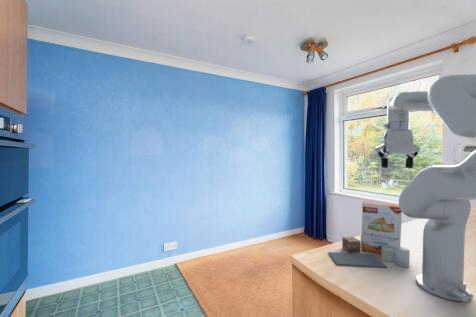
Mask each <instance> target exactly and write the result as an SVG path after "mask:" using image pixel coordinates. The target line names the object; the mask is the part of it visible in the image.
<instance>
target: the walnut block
mask: <svg viewBox="0 0 476 317" xmlns="http://www.w3.org/2000/svg"><path fill="white" fill-rule="evenodd" d="M341 238H342V240H341V241H342V242H341V243H342V249H343V250H345V251H346V253H361V240H359V239H357V238H356V237H354V236H342V237H341Z"/></svg>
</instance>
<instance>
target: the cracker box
mask: <svg viewBox="0 0 476 317" xmlns="http://www.w3.org/2000/svg"><path fill="white" fill-rule="evenodd" d="M361 208H362V210H361V211H362V212H361V235H362V238H361V237H360V248H361V251H365V252H366V251H367V252H370V253H376V254H381V246H383V247H389V248H393V249H394V251H395V248H396V247H401V237H402V236H401V235H402V213H403V212H402V211H401V210H400V207H399V204H391V203H382V202H374V201H362V206H361Z"/></svg>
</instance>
